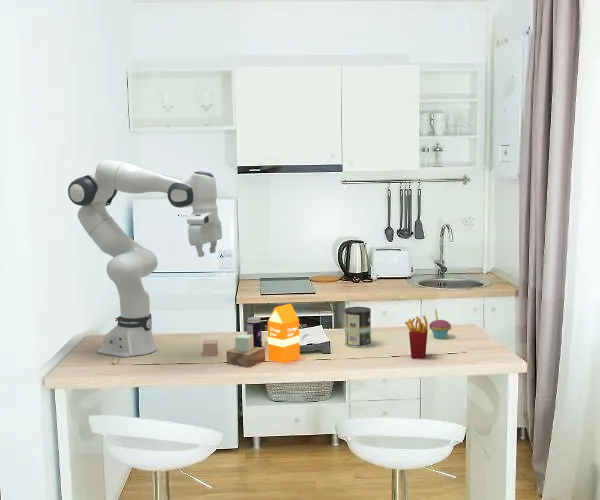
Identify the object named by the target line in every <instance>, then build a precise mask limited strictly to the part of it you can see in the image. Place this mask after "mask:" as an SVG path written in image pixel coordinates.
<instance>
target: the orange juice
mask: <svg viewBox="0 0 600 500" xmlns="http://www.w3.org/2000/svg"><path fill="white" fill-rule="evenodd" d="M267 344H268V360H269V361H273V362H277V363H282V364H285V363H289V362H291V361H294V360H297V359H300V358H301V357H300V352H301V351H300V349H301V348H300V319H299V317H298V315H297V313H296V311H295V309H294V307H293V305H292V303H288V304H284V305H279V306H275V307H274V309H273V311H272V313H271V315H270V317H269V319H268V320H267Z"/></svg>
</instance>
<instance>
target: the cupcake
mask: <svg viewBox="0 0 600 500" xmlns="http://www.w3.org/2000/svg"><path fill="white" fill-rule="evenodd" d="M437 311H438V310H437V308H434V313H435V320H432V321H431V322H430V323H429V324H428V326H429V329H430V330H431V332H432V335H433V338H434V339H437V340H442V339H443V340H444V339H446V338H447V335H448V332H449V331H451V329H452V325H451V323H450V322H449V321H447V320H445V319H439V318H438V317H439V316H438V312H437Z"/></svg>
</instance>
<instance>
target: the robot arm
mask: <svg viewBox="0 0 600 500" xmlns="http://www.w3.org/2000/svg"><path fill="white" fill-rule="evenodd" d="M118 191H119V192H122V193H126V194H127V193H128V194H143V193H144V194H145V193H155V192H156V193H157V192H159V193H165V194H166V195H167V199H168V201H169V204H170V205H172V207H175V208H181V209H182V208H189V207H191V208H192V212H191V214H190V215H189V216H188V217H187V218H186V224H187V225H188V226H187V234H188V235H187V236H188V242H189V245H190V246H191V247H195V249H196V252H197V257H198V258H203V257H204V256H205V251H204V250H203V247H204V246H203V245H204V244H205V245H206V244H209V243H210V248H209V249H208V250H209V253H210V254H215V253H216V250H217V249H216V247H217V245H218V241H219V240H221V239H222V237H223V228H222V223H221V219H220V218H219V215H218V205H217V196H218V193H217V182H216V179H215V176H214V175H213V173H210V172H207V171H199V170H198V171H194V172H192V174H190V175H189V176H188V177H186V178H184V179H181V178H175V177H173V176H172V177H171V176H169V175H165V174H161V173H157V172H154V171H152V170H149V169H146V168H144V167H142V166H141V167H140V166H138V165H136V164H133V163H130V162H127V161H122V160H117V159H104V160H102V161H100V162H98V164H97V166H96V169H95V171H94V174H87V175H84V176H81V177H78V178H76V179H74V180H73V181H71V182H70V183H69V185H68V187H67V194H68V195H67V196H68V197H69V200H70V202H72V203H73V204H74V205H77V206H80V207H79V210H78V211H77V219H78V221H79V222H80V224H81V226H82V228H83V229H84V231H85V232H86V234H87V235H88V236H89V238H91V240H92V241H93V242H94V243H95V244H96V246H97V247H98V248H99V250H101V252H103V253H104V254H106V255H109V256H110V257H112V258H111V259H110V260H109V261H108V263H107V264H106V274H107V276H108V278H109V280H111V281H112V282H113V283H114V284H115V287H116V289H117V293H118V297H119V309H120V315H119V316H118V317H116V318H114V322H117V323H116V326H114V327H113V328H112V329H110V331H109V332H107V333H106V334H105V336H104V337H103V341H102V342H103V343H102V344H103V345H102V346H100V347H99V348H98V349H97V354H104V355H108V356H109V355H111V356H116V357H122V358H128V357H133V356H141V355H142V356H143V355H148V354H150V353H153V352H155V351H156V350H157V347H156V345H155V344H156V343H155V341H154V337H153V331H152V329H153V328H152V327H153V324H152V323H153V320H152V319H153V318H152V314H151V308H150V307H151V306H150V295H149V293H148V292H147V291H146V290H145V287H144V285H143V281H142V279H143V278H145V277H148V276H150V274H152V273H153V272H154V271H155V270H156V269H157V267H158V257H157V255H156V253H155V252H154V251H153V250H151V249H148V248H146V247H144V246H142V245H141V244H139V243H138V242H137V241H135V240H134V239H133V238H131V237H130V236H129V235H128V234H127V233H126V232H125V231H124V230H123V228H121V227H120V225H119V224H118V223H117V222H116V221H115V219H114V218H113V217H112V216H111V215H110V213H109V212H108V211H107V209H106V207H108V206H110V205H111V203H112V201H113V199H114V198H115V197H116V196H117V193H118Z"/></svg>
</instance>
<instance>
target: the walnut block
mask: <svg viewBox="0 0 600 500" xmlns="http://www.w3.org/2000/svg"><path fill="white" fill-rule="evenodd" d="M265 361H266V348H265V347H261V348H260V347H254V348H253V349H252V350H251V351H249V352H242V351H236V347H234V348H231V349H229V350H226V364H227V365H231V364H232V366H236V365H238V367H242V366H243V368H248V367H249V368H251V367H254V366H256V364H257V365H259V364H261V363H263V362H265ZM258 363H259V364H258Z"/></svg>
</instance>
